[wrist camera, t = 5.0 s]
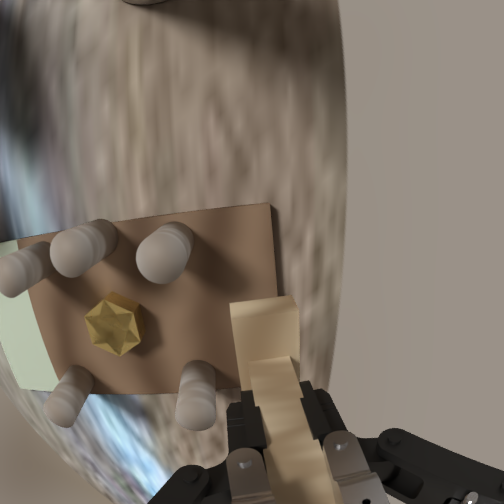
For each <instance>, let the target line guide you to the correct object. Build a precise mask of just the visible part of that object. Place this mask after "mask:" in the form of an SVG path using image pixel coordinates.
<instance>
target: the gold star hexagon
mask: <svg viewBox="0 0 504 504" xmlns="http://www.w3.org/2000/svg"><path fill="white" fill-rule="evenodd" d="M84 318H85V321H86V325H87V328H88V332H89V335H90V338H91V341H92V344H93V345H95V346H97V347H99V348H102V349H104V350H106V351H108V352H110V353H113V354H115V355H117V356H119V357H120V356H121V355H123V354H124V353H126V352H127V351H129V350H130V349H131V348H133V347H134V346H136V345H137V344H138V343H140V342H141V340H142V338H143V336H144V334H145V331H146V330H145V326H144V322H143V318H142V313H141V309H140V304H139V303H137V302H135V301H133V300H131V299H128V298H126V297H124V296H122V295H119V294H117V293H115V292H113V291H111V292H110V293H109V294H108V295H106V296H105V297H104V298H103V299H102V300H100V301H99V302H98V303H97V304H96V305H95V306H93V307H92V308H91V309H90V310H89V312H88V313H87V314H86V315H85V316H84Z"/></svg>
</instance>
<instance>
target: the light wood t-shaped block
mask: <svg viewBox="0 0 504 504" xmlns="http://www.w3.org/2000/svg"><path fill="white" fill-rule="evenodd" d="M229 304H230V314H231V323H232V330H233V337H234V343H235V350H236V357H237V363H238V370H239V377H240V383H241V389H242V391H246V390H253V396H254V401H255V406H259V407H260V412H261V417H262V422H263V427H264V433H265V438H266V443H267V449H263V454H264V461H265V468H266V473H267V477H268V480H269V484H270V487H271V491H272V494H273V495H274V497H275V500H276V504H335V500H334V495H333V489H332V484H331V480H330V477H329V473H328V470H327V466H326V462H325V459H324V455H323V452H322V449H321V446H320V443H319V440H318V439H317V440H313V437H312V434H311V431H310V428H309V425H308V422H307V419H306V416H305V413H304V410H303V407H302V404H301V401H300V398H303V394H302V391H301V388H300V385H299V382H300V345H299V309H298V307H297V305H296V303H295V301H294V299H293V297H292V295H288V296H280V297H273V298H266V299H258V300H251V301H243V302H235V303H229Z"/></svg>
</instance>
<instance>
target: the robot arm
mask: <svg viewBox="0 0 504 504" xmlns="http://www.w3.org/2000/svg"><path fill="white" fill-rule="evenodd" d="M122 1H125V2H128V3H131V4H139V5H140V4H154V3H160V2H163V1H167V0H122ZM299 385H300V388H301V391H302V394H303V398H300V401H301V404H302V407H303V410H304V413H305V416H306V419H307V422H308V425H309V428H310V431H311V434H312V437H313V440H317V439H318V440H319V443H320V446H321V449H322V452H323V455H324V459H325V462H326V466H327V470H328V473H329V477H330V480H331V484H332V489H333V495H334V500H335V504H390V503H389V500H388V498H387V495H386V493H387V494H389V495H391V496H393V497H395V498H397V499H398V500H400V501H402V502H404V503H406V504H504V471H502V470H499V469H496V468H494V467H491V466H488V465H485V464H483V463H480V462H477V461H475V460H472V459H470V458H467V457H465V456H462V455H460V454H457V453H454V452H452V451H450V450H447V449H445V448H443V447H440V446H438V445H436V444H434V443H431V442H429V441H427V440H424V439H422V438H420V437H418V436H415V435H413V434H411V433H409V432H407V431H405V430H402V429H398V428H392V429H387V430H385V431H383V432H382V433H381V434H380V435H379V437H378V438H358V437H356V436H355V435H354V434H352V433H351V432H348V430H347V429H346V427H345V425H344V423H343V420H342V419H341V416H340V414H339V412H338V410H337V409H336V407H335V405H334V403H333V400H332V398H331V397H330V395H329V393H327V392H326V391H324V390H323V389H317V390H313V388H312V385H311V383H310V381H309V380H308V381H303V382H299ZM241 399H242V402H236V403H230V405H229V407H228V409H227V411H226V413H227V431H228V447H229V453H228V456H227V458H226V459H225V460H224V461H223V462H222V463H221V464H219V465H217V466H214V467H211V468H208V469H204V468H203V467H201V466H198V465H187V466H183V467H181V468H179V469H178V470H177V471H176V472H175V473H174V474H173V475H172V477H171V478H170V479H169V480H168V481H167V482H166V483H165V484H164V486H163V487H162V488H161V489H160V490H159V491H158V492H157V493H156V494H155V496H154V497H153V498H152V499H151V500H150V501H149V502H148V503H147V504H276V500H275V497H274V495H273V494H272V491H271V487H270V484H269V480H268V477H267V473H266V468H265V461H264V454H263V449H267V443H266V438H265V433H264V427H263V422H262V417H261V412H260V407H259V406H255V401H254V396H253V390H246V391H241Z"/></svg>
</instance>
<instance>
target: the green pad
mask: <svg viewBox="0 0 504 504" xmlns="http://www.w3.org/2000/svg"><path fill="white" fill-rule="evenodd" d="M20 239H21V238H20ZM17 240H18V239H15V240H10V241H6V242H1V243H0V258H1V257H3V256H6V255H8V254H11V253H13V252H15V251H18V245H17ZM0 342H1V344H2V347H3V349H4V352H5V355H6V357H7V359H8V362H9V364H10V367H11V369H12V371H13V373H14V376H15V378H16V380H17V382H18V384H19V387H20V388H21V389H30V390H40V391H51V392H52V391H53V390H54V388H55V387H56V386H57V384H58V383H59V380H58V378H57V376H56V373H55V371H54V368H53V366H52V363H51V361H50V358H49V356H48V353H47V350H46V347H45V345H44V342H43V339H42V336H41V333H40V330H39V327H38V324H37V321H36V318H35V315H34V311H33V308H32V304H31V301H30V297H29V294H28V290H26V291H24V292H23V293H21V294H20V295H18V296H17V297H15V298H8V297H6V296H4V295H3V294H2V293H1V292H0Z"/></svg>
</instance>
